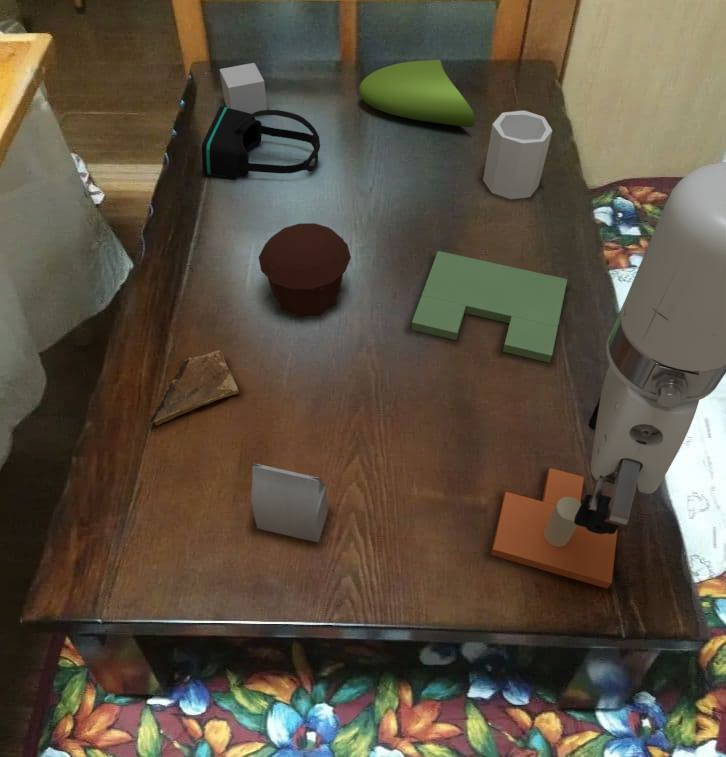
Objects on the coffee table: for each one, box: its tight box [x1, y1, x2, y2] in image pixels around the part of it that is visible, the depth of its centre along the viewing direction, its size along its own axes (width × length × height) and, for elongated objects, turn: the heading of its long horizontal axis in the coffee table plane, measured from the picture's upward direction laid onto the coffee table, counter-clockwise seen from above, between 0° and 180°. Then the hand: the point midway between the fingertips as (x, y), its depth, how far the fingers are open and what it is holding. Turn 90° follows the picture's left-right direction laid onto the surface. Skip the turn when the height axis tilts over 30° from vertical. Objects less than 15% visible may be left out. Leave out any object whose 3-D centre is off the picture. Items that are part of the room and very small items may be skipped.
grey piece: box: [250, 463, 329, 543], centre depth 74 cm, size 4×7×10 cm, turn 76°
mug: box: [482, 110, 553, 200], centre depth 111 cm, size 12×9×10 cm
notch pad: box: [410, 250, 568, 364], centre depth 97 cm, size 18×14×2 cm
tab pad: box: [490, 467, 619, 590], centre depth 75 cm, size 12×11×8 cm
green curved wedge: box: [358, 59, 476, 128], centre depth 122 cm, size 8×12×20 cm
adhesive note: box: [219, 62, 268, 114], centre depth 123 cm, size 6×6×6 cm
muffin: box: [258, 222, 352, 319], centre depth 95 cm, size 12×11×10 cm
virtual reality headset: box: [201, 105, 321, 179], centre depth 113 cm, size 11×17×10 cm, turn 81°
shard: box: [149, 350, 240, 426], centre depth 88 cm, size 11×8×2 cm
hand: (600, 475), depth 62 cm, fingers open, 9 cm apart
